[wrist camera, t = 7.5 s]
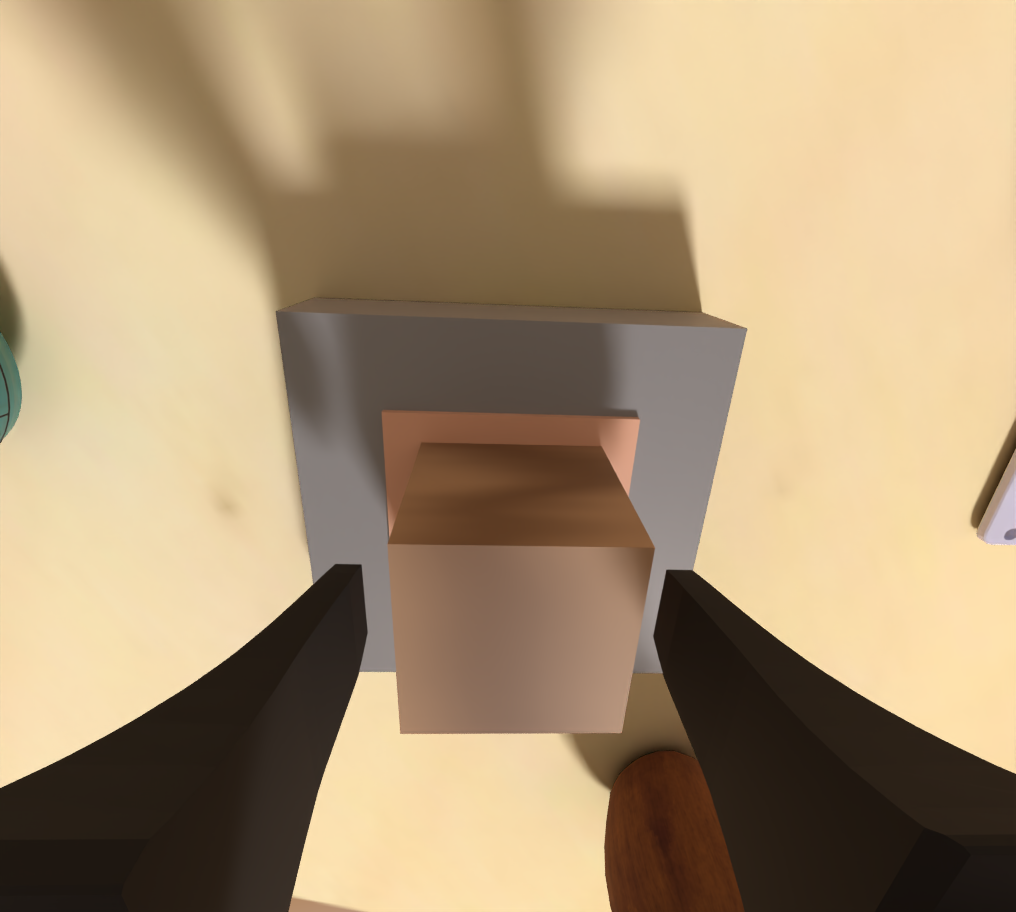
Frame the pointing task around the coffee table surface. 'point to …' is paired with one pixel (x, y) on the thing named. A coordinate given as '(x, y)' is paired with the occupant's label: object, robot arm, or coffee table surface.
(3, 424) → the beverage bottle
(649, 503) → the slate plinth
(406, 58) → the coffee table surface
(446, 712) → the walnut cube
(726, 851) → the wooden figurine
